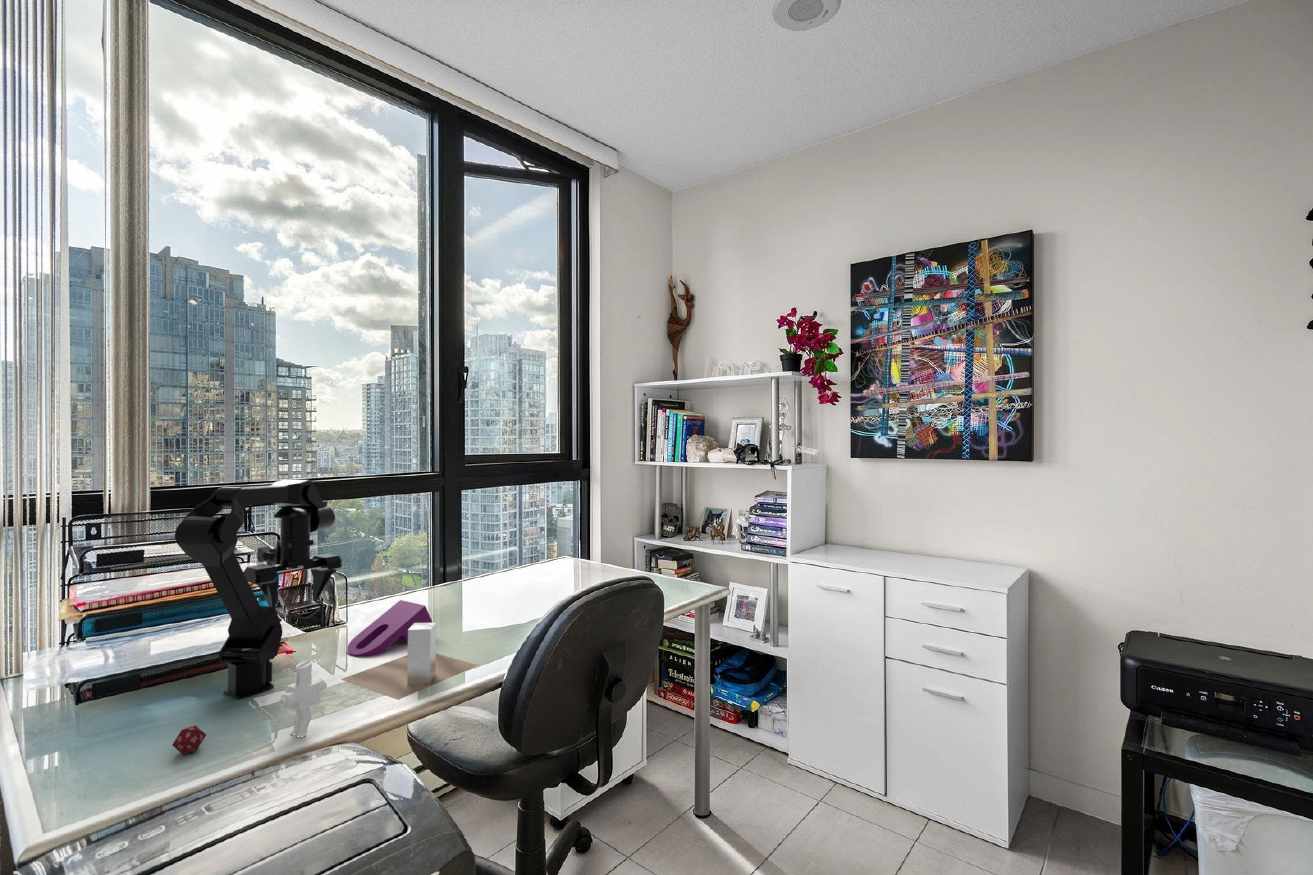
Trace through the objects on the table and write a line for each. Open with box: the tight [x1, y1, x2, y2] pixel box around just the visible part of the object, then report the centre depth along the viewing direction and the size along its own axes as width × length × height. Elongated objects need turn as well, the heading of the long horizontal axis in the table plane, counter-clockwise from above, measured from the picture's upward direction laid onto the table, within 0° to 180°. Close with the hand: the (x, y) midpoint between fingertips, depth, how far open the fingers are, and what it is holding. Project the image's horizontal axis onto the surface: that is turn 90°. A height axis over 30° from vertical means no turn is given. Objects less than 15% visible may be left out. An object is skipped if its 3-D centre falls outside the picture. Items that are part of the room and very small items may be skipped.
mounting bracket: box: [346, 599, 433, 658], centre depth 144 cm, size 9×8×18 cm
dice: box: [171, 725, 207, 756], centre depth 96 cm, size 4×4×4 cm
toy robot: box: [278, 660, 328, 737], centre depth 103 cm, size 4×8×12 cm, turn 155°
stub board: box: [341, 653, 478, 700], centre depth 126 cm, size 20×18×4 cm
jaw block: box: [407, 622, 437, 684], centre depth 122 cm, size 4×4×11 cm
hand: (294, 606), depth 132 cm, fingers open, 9 cm apart
